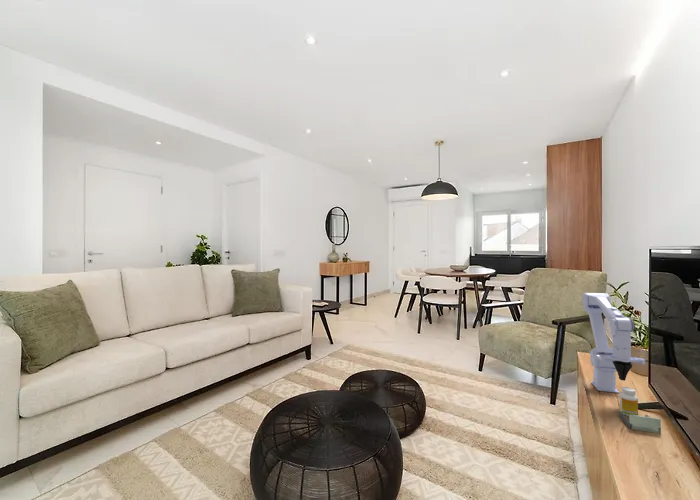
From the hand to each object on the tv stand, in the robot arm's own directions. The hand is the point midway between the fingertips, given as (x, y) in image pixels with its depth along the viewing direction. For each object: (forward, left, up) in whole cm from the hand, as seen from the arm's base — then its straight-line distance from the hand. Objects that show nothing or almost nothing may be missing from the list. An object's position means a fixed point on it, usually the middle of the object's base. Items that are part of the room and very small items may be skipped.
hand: (622, 379), depth 130 cm
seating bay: (+15, -1, -10) cm, 18 cm away
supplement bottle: (+8, -1, -11) cm, 13 cm away
